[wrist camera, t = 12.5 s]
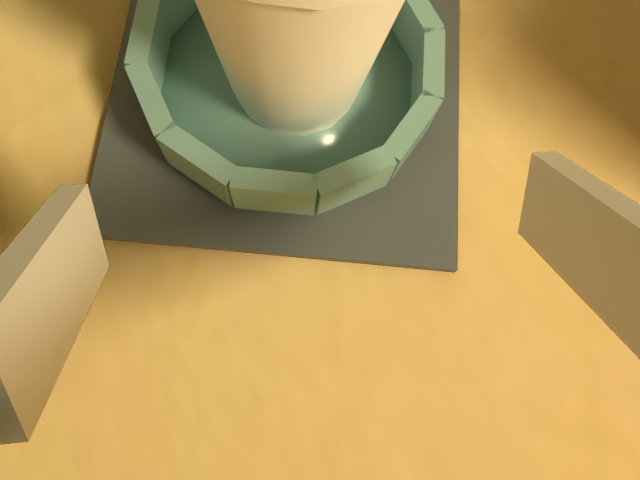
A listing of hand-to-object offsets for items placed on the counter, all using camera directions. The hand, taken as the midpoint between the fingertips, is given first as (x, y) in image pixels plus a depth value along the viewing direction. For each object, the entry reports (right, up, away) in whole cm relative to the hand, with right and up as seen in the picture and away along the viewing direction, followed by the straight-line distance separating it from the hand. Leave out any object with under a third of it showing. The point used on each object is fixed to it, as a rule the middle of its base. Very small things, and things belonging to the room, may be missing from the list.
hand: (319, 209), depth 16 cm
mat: (-2, +6, +12) cm, 13 cm away
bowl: (-2, +7, +12) cm, 14 cm away
